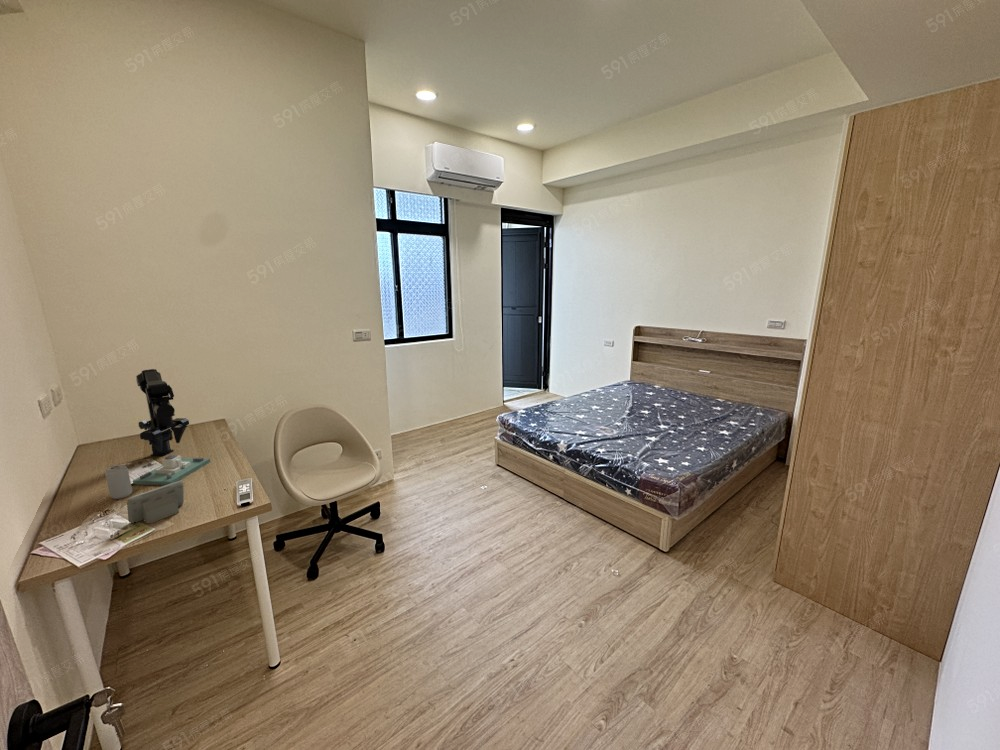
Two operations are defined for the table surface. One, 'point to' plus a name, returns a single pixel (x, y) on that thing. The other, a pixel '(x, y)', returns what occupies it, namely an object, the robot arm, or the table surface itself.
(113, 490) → the beverage can
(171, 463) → the plug
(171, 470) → the board
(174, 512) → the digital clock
